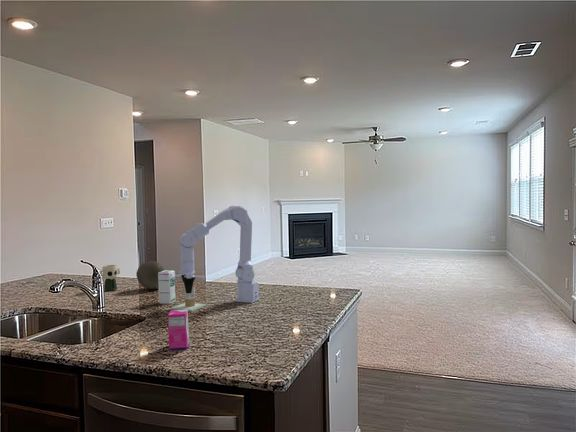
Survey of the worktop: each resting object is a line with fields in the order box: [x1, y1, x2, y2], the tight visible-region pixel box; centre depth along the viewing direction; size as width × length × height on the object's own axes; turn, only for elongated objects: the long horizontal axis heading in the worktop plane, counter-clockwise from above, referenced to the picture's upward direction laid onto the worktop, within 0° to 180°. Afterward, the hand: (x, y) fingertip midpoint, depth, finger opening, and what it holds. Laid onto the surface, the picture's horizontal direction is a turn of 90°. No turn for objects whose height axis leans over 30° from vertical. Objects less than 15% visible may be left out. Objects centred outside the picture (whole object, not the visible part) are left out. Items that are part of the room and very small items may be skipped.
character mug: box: [99, 264, 121, 291], centre depth 236 cm, size 11×7×13 cm, turn 139°
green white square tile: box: [170, 302, 207, 312], centre depth 197 cm, size 11×11×1 cm
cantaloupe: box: [135, 260, 165, 290], centre depth 236 cm, size 14×14×15 cm
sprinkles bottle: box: [184, 274, 196, 307], centre depth 196 cm, size 5×5×13 cm
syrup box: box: [158, 269, 177, 305], centre depth 206 cm, size 6×6×14 cm
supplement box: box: [167, 309, 190, 351], centre depth 144 cm, size 6×6×12 cm
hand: (188, 292), depth 196 cm, fingers closed on sprinkles bottle, 4 cm apart
